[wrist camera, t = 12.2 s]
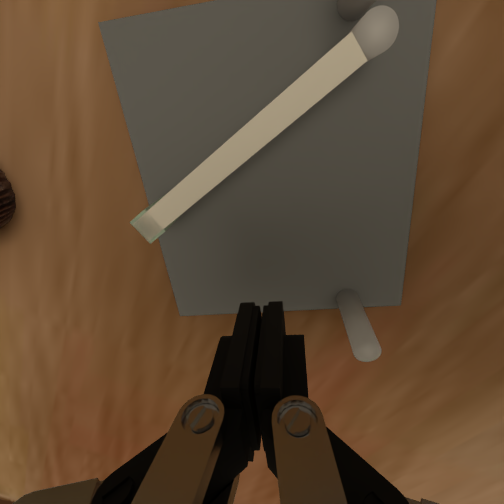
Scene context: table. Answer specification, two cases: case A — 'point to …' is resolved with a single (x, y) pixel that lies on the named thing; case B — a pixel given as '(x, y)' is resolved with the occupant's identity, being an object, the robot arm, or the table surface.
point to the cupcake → (6, 200)
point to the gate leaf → (274, 118)
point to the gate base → (278, 153)
